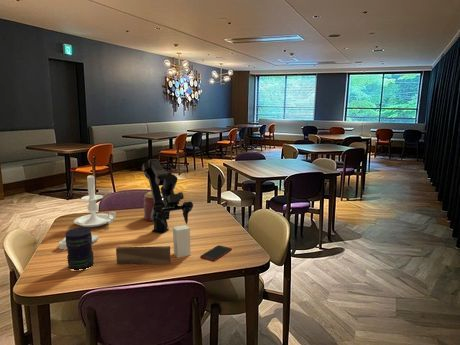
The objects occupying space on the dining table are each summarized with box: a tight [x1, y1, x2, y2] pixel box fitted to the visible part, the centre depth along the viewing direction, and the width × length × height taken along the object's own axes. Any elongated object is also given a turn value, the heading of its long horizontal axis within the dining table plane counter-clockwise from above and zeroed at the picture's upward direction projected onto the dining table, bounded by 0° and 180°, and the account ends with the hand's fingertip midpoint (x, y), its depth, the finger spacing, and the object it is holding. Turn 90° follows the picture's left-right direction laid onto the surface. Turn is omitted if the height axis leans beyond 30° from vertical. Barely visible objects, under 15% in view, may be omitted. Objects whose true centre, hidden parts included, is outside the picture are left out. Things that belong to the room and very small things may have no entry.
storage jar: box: [64, 227, 95, 270], centre depth 146 cm, size 10×10×15 cm
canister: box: [142, 191, 164, 222], centre depth 207 cm, size 13×13×18 cm
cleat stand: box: [115, 245, 172, 265], centre depth 153 cm, size 11×22×7 cm, turn 91°
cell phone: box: [200, 244, 233, 262], centre depth 159 cm, size 8×15×1 cm, turn 148°
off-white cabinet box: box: [172, 224, 192, 259], centre depth 157 cm, size 5×6×12 cm
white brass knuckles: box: [58, 233, 100, 250], centre depth 171 cm, size 3×18×15 cm
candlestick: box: [73, 174, 117, 228], centre depth 195 cm, size 21×25×28 cm
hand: (177, 225), depth 160 cm, fingers open, 9 cm apart
